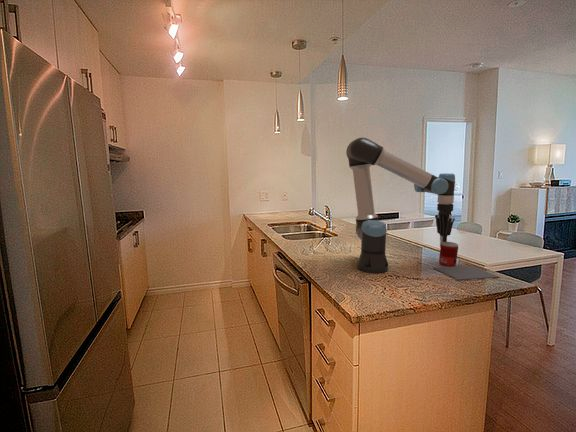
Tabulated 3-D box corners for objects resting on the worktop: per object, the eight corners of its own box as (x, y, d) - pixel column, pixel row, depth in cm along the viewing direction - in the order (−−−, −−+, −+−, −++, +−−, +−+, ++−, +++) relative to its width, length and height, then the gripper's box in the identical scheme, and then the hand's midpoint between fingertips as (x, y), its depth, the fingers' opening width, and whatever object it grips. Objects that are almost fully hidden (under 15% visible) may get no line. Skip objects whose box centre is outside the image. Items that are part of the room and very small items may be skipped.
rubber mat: (457, 280, 142) (458, 279, 142) (433, 268, 159) (433, 267, 159) (499, 278, 145) (499, 276, 145) (470, 266, 163) (470, 265, 163)
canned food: (457, 267, 162) (460, 246, 160) (440, 265, 164) (442, 245, 161) (453, 262, 169) (456, 242, 167) (437, 260, 171) (439, 241, 169)
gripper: (460, 204, 161) (457, 250, 164) (443, 201, 173) (441, 244, 177) (447, 204, 160) (444, 251, 163) (431, 202, 172) (429, 245, 176)
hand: (442, 247), depth 170 cm, fingers closed
